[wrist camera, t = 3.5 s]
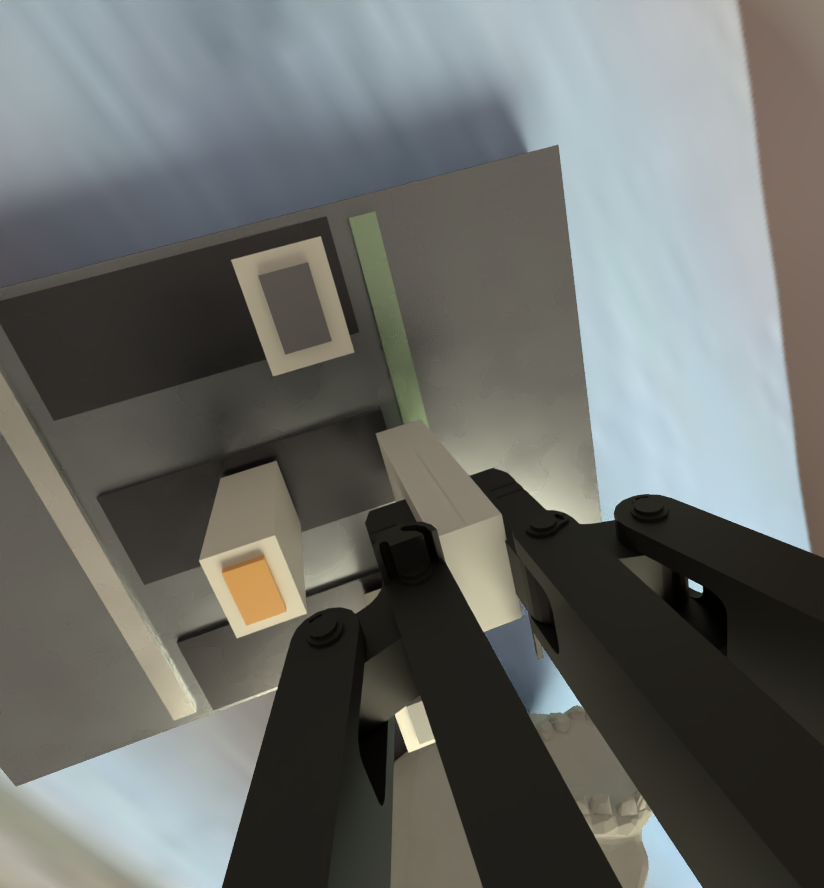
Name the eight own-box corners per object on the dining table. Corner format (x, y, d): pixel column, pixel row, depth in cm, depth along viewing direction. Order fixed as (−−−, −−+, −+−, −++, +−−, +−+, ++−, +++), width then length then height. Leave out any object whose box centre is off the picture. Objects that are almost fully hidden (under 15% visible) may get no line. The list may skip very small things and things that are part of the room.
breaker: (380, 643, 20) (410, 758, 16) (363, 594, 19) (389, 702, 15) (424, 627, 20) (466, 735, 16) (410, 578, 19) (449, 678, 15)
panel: (39, 739, 21) (13, 791, 19) (-252, 357, 15) (-336, 374, 13) (582, 542, 24) (609, 569, 22) (529, 155, 18) (561, 143, 16)
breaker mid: (247, 540, 17) (236, 643, 13) (220, 478, 17) (197, 565, 12) (300, 523, 18) (307, 618, 13) (276, 460, 17) (274, 539, 12)
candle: (594, 658, 26) (498, 835, 32) (374, 655, 23) (313, 854, 29) (727, 868, 18) (568, 1051, 24) (421, 910, 15) (324, 1111, 21)
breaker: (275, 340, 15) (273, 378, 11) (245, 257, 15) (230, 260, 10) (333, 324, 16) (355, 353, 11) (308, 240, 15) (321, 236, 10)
